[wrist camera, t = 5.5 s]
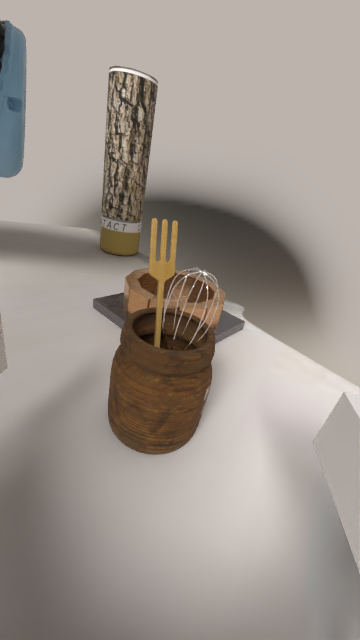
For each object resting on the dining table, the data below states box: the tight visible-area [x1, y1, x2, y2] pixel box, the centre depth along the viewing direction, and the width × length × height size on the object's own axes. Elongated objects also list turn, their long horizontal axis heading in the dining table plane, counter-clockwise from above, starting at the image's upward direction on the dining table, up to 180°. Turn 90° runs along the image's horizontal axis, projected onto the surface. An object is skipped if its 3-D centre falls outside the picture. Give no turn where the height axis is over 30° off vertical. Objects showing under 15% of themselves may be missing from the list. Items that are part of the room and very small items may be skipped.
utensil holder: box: [108, 218, 219, 454], centre depth 15 cm, size 6×6×12 cm
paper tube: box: [100, 66, 158, 256], centre depth 44 cm, size 7×7×25 cm
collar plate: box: [93, 268, 245, 343], centre depth 30 cm, size 12×12×4 cm
